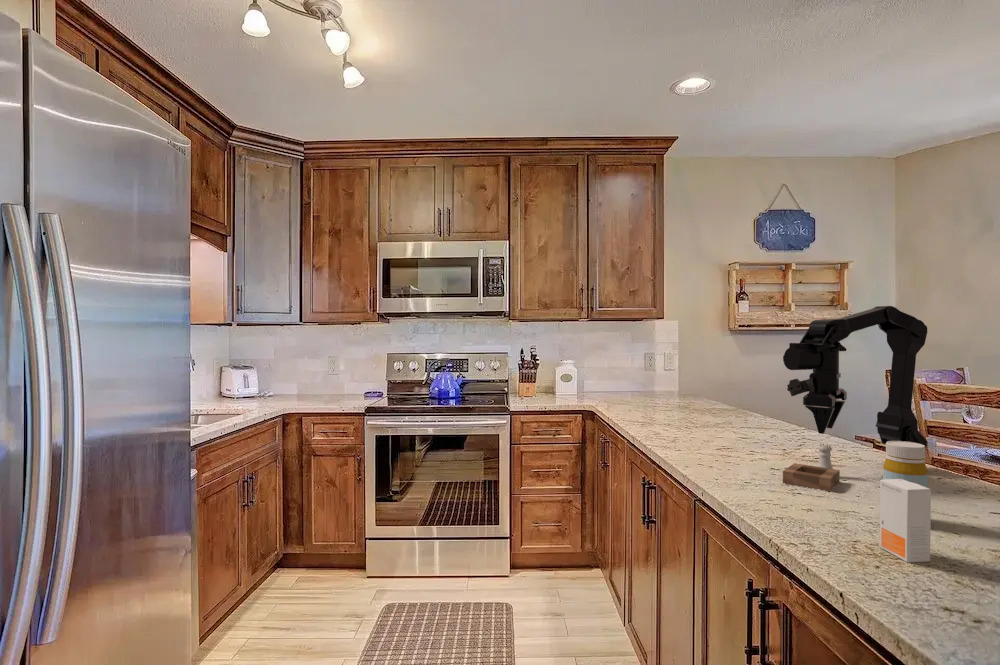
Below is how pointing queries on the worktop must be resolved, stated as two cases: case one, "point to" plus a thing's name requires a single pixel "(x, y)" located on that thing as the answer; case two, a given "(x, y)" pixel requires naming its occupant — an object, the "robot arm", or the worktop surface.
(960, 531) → the worktop surface
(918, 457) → the bottle
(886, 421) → the robot arm
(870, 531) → the worktop surface
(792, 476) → the socket
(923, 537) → the skincare box
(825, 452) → the rook chess piece
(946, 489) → the worktop surface
